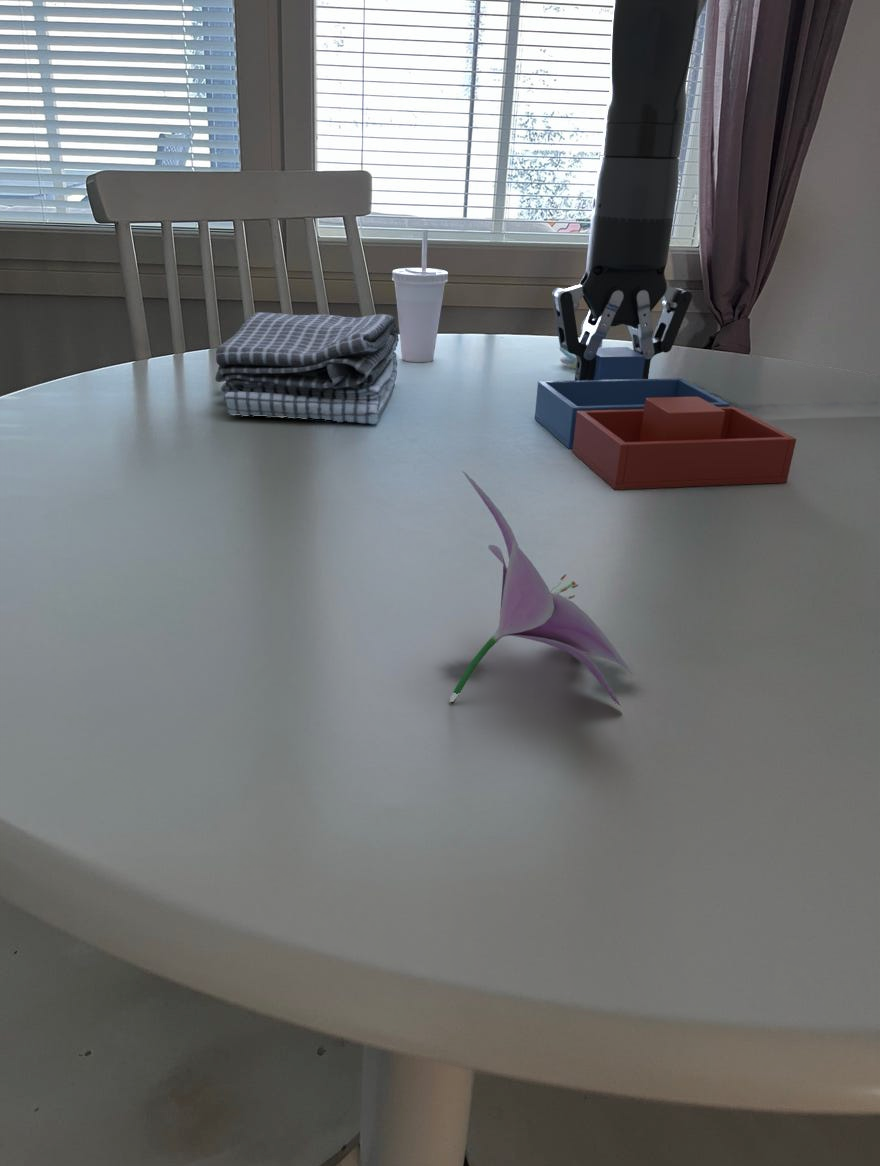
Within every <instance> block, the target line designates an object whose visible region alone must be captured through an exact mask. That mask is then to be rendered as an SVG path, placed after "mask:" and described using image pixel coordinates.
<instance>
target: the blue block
mask: <svg viewBox="0 0 880 1166" xmlns="http://www.w3.org/2000/svg"><path fill="white" fill-rule="evenodd" d="M594 360H595V361H596V366H595V375H594V380H622V379H642V377H643V370H644V363H645V356H643V355H642V354H640V353H638V352H636V351H634V349H633V348H630V347H628V346H608V347H607V346H602V347H599V349H598V351H597V353H596V356H595V357H594Z"/></svg>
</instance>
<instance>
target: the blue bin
mask: <svg viewBox="0 0 880 1166" xmlns="http://www.w3.org/2000/svg"><path fill="white" fill-rule="evenodd" d="M659 397H700V398H702V399H704V400H705V401H707V402H709V403H711V404H713V405H715V406H716V407H731V404H730V403H729V402H727V401H725V400H723V399H721V398H720V397H717V396H716V395H714V394H713V393H711V392H709V391H706V390H704V389H702V388H701V387H699V386H697V385H695V384H693V383H691V382H689V381H688V380H685V379H683V378H681V377H677V378H675V377H673V378H648V379H622V380H575V381H574V380H539V381H537V389H536V401H535V412H534V420H536V422H538V423H539V424H540V425H541V426H542V427H543V428H545V429H546V430H547V431H548V432H549V433H550V434H551V435H552V436H554V437H555V438H556V439H557V440H558V441H560V442H561V444H563V445H564V446H565V447H566V448H567V449H568V450H570V449H571V450H573V442H574V433H575V424H576V415H577V411H592V410H629V409H644V406H645V400H646V398H659Z"/></svg>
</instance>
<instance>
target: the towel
mask: <svg viewBox="0 0 880 1166" xmlns="http://www.w3.org/2000/svg"><path fill="white" fill-rule="evenodd" d="M399 342H400V338H399V326H397V322H396V318H395V317H394V315H392V314H385V313H377V314H370V315H366V316H359V317H353V316H352V317H351V316H346V317H345V316H342V315H335V314H334V315H333V314H326V313H323V314H308V315H307V314H291V313H289V314H287V313H281V312H278V313H274V312H270V311H269V312H268V311H267V312H261V311H260V312H259V311H256V312H255V313H253V314H251V315H250V316H249V317H248V318H247V319H246V320H245V321H244V322H243V323H242V324H241V326H240V327H239V328H238V330H237V331H236V333H234V334H233V335H232V336H231V337H230V338H228V339H227V340H226V341H224V342H222V343H220V344H219V345H218V347H217V348H216V350H215V362H216V364H217V365H218V368H217V372H216V374H215V378H214V380H215V382H216V383H222V382H224V383H223V384H222V385H221V387H220V390H221V391H222V392H223V393H224V401H225V403H226V408H227V409H226V410H227V414H228V413H229V414H240V415H267V416H287V417H300V418H313V419H325V420H324V421H326V420H333V421H332V422H334V421H337V422H336V423H343V422H344V421H345V422H346V421H347V422H346V423H357V424H369V425H376V424H378V423H379V420H380V417H381V415H382V413H383V411H384V410H385V408H386V406H387V405H388V402H389V400H390V397H391V396H392V392H393V390H394V388H395V383H396V380H397V374H398V372H397V371H398V369H397V368H398V360H397V353H396V350H397V347H398V344H399ZM229 414H228V415H229ZM313 419H312V420H313ZM345 422H344V423H345Z"/></svg>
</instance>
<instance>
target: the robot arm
mask: <svg viewBox="0 0 880 1166" xmlns="http://www.w3.org/2000/svg"><path fill="white" fill-rule="evenodd" d="M707 1H708V0H614V2H613V3H614V4H613V13H612V27H611V42H610V43H611V45H610V74H609V75H610V77H609V79H610V84H609V85H610V86H609V93H608V98H607V99H608V100H607V104H606V109H605V115H604V124H603V133H602V134H603V135H602V144H601V151H600V155H601V156H600V157H599V164H598V170H597V173H596V177H595V183H594V189H593V196H592V199H591V216H590V225H589V235H588V244H587V254H586V268H585V272H584V274H583V277H581V280H580V282H579V284H578V285H573V286H570V287H568V288H561V287H556V288H554V289H553V291H552V293H551V298H552V305H553V310H554V311H553V312H554V317H555V323H556V329H557V337H558V342H559V348H560V347H561V348H563V349H564V350H566V351H568V352H569V353H571V354H575V355H576V358H577V361H576V368H575V372H574V379H573V381H575V380H594V375H595V366H596V361H595V360H594V357H595V356H596V353H597V351H598V349H599V346H600V344H601V341H602V342H603V340H604V339H605V338H606V337H607V335H608V333H609V331H610V328H611V327H617V326H620V325H625V326H627V330H628V332H629V334H630V336H631V342H632V350H634V351H636V352H638V353H640V354H642V355H643V356H645V363H644V370H643V377H642V379H649V374H650V368H651V361H652V359H653V357H654V356H656V355H658V354H659V355H660V354H661V353H664V354H665V353H666V354H667V353H669V352H670V351H671V350H672V348H673V346H674V343H675V341H676V338H677V337H678V334H679V331H680V328H681V327H682V324H683V321H684V319H685V317H686V314H687V311H688V310H689V306H690V304H691V302H692V300H693V294H692V292H690V291H689V290H686V289H684V288H680V287H672V286H669V285H668V283H667V279H666V275H665V270H666V267H667V263H668V258H669V251H670V244H671V237H672V230H673V225H674V224H673V223H674V217H675V209H676V202H677V196H678V190H679V189H678V188H679V167H680V166H679V163H680V159H679V158H680V156H681V151H682V143H683V135H684V129H685V119H686V112H687V111H686V110H687V91H686V88H687V87H686V86H687V79H688V74H689V69H690V63H691V58H692V52H693V48H694V47H693V46H694V41H695V35H696V30H697V24H698V20H699V18H700V16H701V14H702V13H703V10H704V8H705V6H706V3H707ZM582 298H583V300H584V302H585V304H586V305H587V307H588V309H589V311H588V313H587V316H586V317H587V318H586V320H585V323H584V325H583V333H581V335H580V338H579V334H578V327H577V320H576V314H575V312H576V311H577V310H578V309H579V306H580V301H581V299H582ZM661 299H662V302H661V306H662V308H663V310H662V312H661V315H660V318H659V319H658V322H657V325H656V327H655V330H654V326H653V320H652V314H651V313H652V311H653V310H654V308H655V307H656V306H657V304H658V303H659V302H660V301H661Z"/></svg>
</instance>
